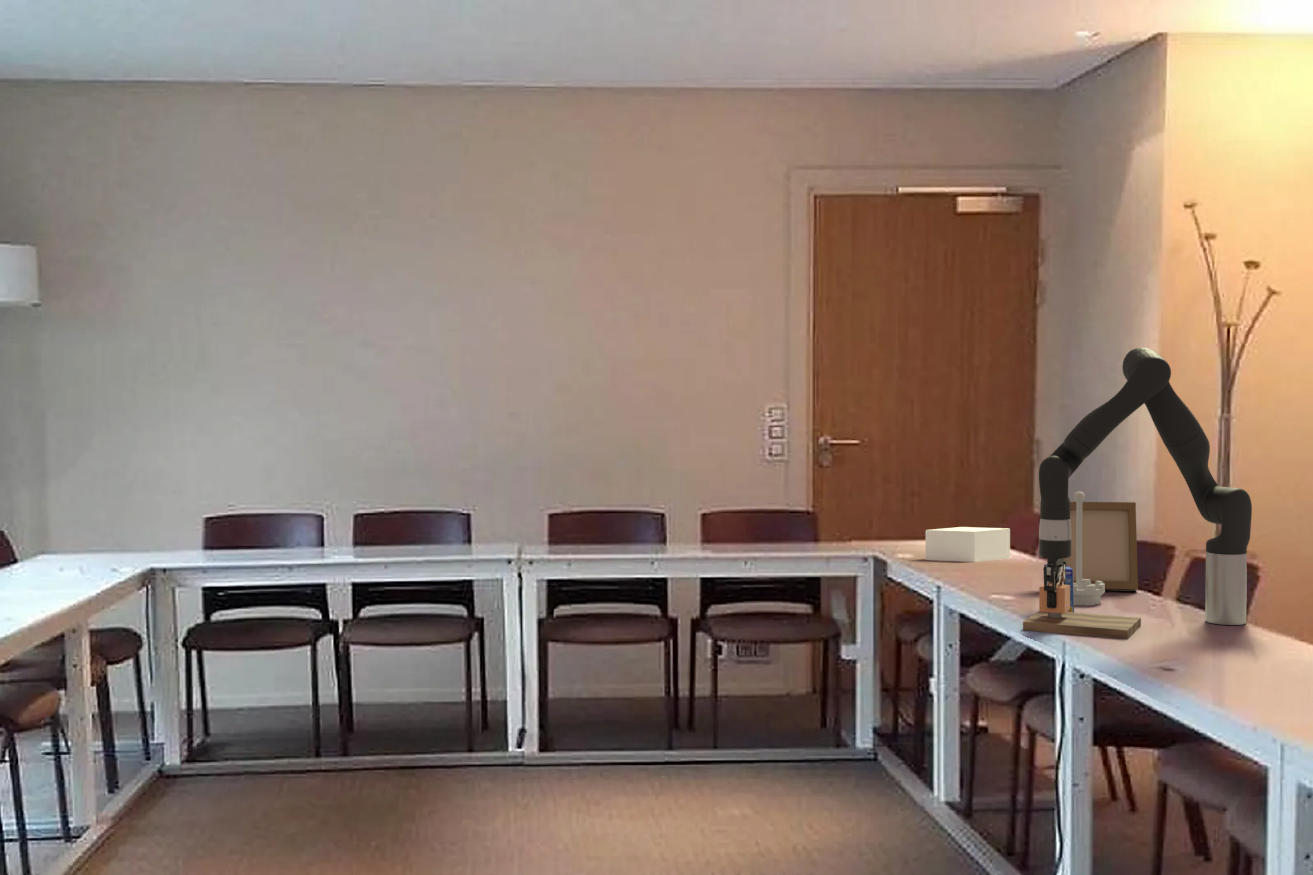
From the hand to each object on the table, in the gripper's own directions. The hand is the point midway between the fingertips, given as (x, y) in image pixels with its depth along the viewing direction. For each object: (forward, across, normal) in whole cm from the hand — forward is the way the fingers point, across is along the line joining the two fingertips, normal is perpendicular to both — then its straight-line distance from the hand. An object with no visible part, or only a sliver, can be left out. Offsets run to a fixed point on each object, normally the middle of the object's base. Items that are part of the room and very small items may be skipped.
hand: (1054, 605), depth 316 cm
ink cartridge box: (+5, +18, +3) cm, 19 cm away
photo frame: (+5, +64, +3) cm, 64 cm away
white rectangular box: (+5, +109, +53) cm, 121 cm away
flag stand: (+5, +38, +2) cm, 38 cm away
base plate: (+5, 0, -6) cm, 8 cm away
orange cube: (+1, 0, 0) cm, 1 cm away
